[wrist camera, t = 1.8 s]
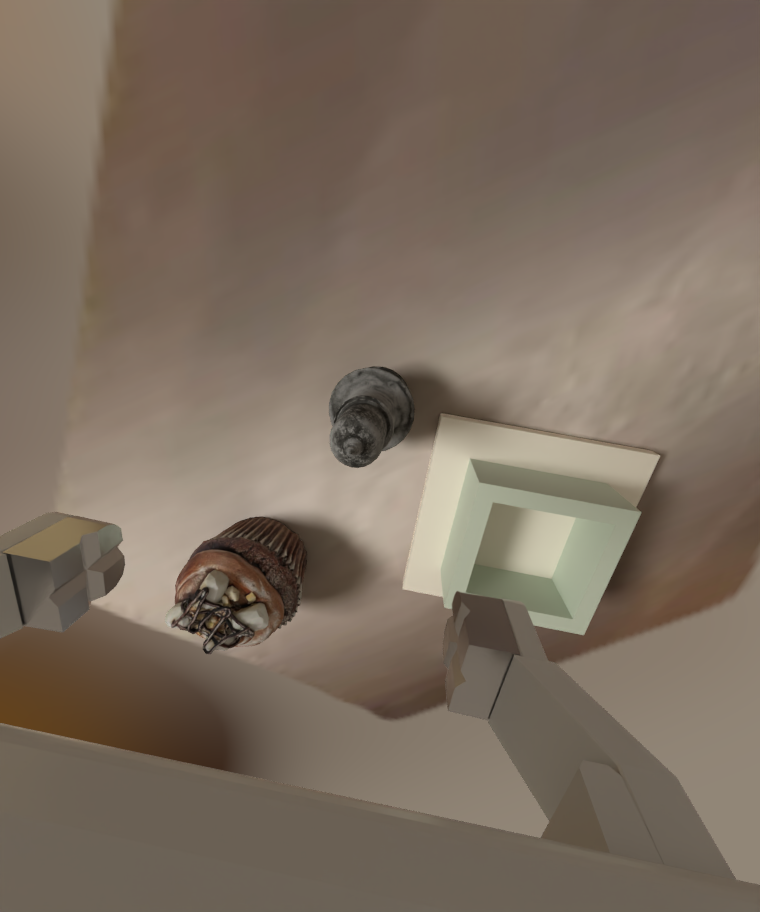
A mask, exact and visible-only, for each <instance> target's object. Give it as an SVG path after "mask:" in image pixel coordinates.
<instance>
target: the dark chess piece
mask: <svg viewBox="0 0 760 912" xmlns="http://www.w3.org/2000/svg"><path fill="white" fill-rule="evenodd" d="M329 416H330V419H331V423H332V426H333V427H332V429H331V433H330V447H331V451H332V452H333V454H334V456H335V457H336V458H337V459H338V460H339V461H340V462H341V463H343V464H344V465H346V466H349V467H356V468H359V467H365V466H367V465H369V464H371V463H372V462H373V461H374V460H376V459H377V458H378V456H379V455H380V453H381V451H386V450H388V449H390V448H392V447H394V446H396V445H397V444H398V443H400V442H401V441H402V440H403V439H404V438H405V437H406V435H407V434H408V432H409V431H410V429H411V426H412V423H413V420H414V403H413V398H412V396H411V394H410V392H409V389H408V387H407V385H406V383H405V381H404V380H403V379H402V378H401V377H400V376H399V375H398V374H397V373H395V372H394V371H392V370H390V369H387V368H384V367H369V368H363V369H358V370H355V371H353V372H351V373H349V374H348V375H346V376H345V377H344V378H343V379H342V380H341V381H339V382H338V384H337V385H336V387H335V389H334V390H333V392H332V395H331V398H330V402H329Z"/></svg>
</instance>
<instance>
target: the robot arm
mask: <svg viewBox="0 0 760 912" xmlns="http://www.w3.org/2000/svg"><path fill="white" fill-rule="evenodd" d="M122 541H123V539H122V533H121V528H120V527H118V526H117V525H115V524H111V523H107V522H102V521H97V520H93V519H88V518H84V517H79V516H73V515H69V514H64V513H59V512H50V513H46V514H44V515H42V516H40V517H37V518H35V519H34V520H31V521H29V522H27V523H25V524H23V525H21V526H19V527H17V528H15V529H13V530H11V531H9V532H7V533H5V534H3V535H1V536H0V638H2V637H4V636H6V635H9V634H11V633H13V632H15V631H17V630H19V629H22V628H23V626H28V627H34V628H40V629H46V630H52V631H58V632H64V631H65V630H66V629H67V628H68V627H69V626H71V625H72V624H73V623H74V622H75V621H76V620H78V619H79V618H80V617H81V616H82V615H83V614H85V613H86V612H87V611H88V610H89V608H90V603H91V601H93V600H95V599H98V598H100V597H103V596H105V595H107V594H108V593H109V592H110V591H111V590H112V589H113V588H114V587H115V586H116V585H117V583H118V582H119V580H120V578H121V577H122V575H123V571H124V566H125V560H124V555H123V554H122V552H121V551H120V550H119V549H118V545H119V544H120V543H121V542H122ZM452 611H453V616H451V617H450V618H449V619H447V623H446V627H445V631H444V638H443V663H444V664H445V666H446V667H447V668H448V673H447V676H446V680H445V686H446V697H447V707H448V711H450V712H455V713H459V714H463V715H467V716H472V717H476V718H480V719H485V720H489V722H488V723H489V725H490V726H491V728H492V730H493V731H494V733H495V734H496V736H497V738H498V739H499V741H500V742H501V744H502V746H503V747H504V749H505V751H506V752H507V754H508V755H509V757H510V759H511V760H512V762H513V764H514V765H515V766H516V768H517V770H518V772H519V773H520V775H521V776H522V778H523V779H524V781H525V783H526V784H527V786H528V788H529V789H530V791H531V792H532V794H533V796H534V797H535V799H536V800H537V802H538V804H539V805H540V807H541V809H542V810H543V812H544V813H545V815H546V817H547V818H548V820H549V824H548V825H547V827H546V829H545V831H544V832H543V834H542V836H541V838H538V837H533V836H528V835H524V834H519V833H514V832H509V831H505V830H500V829H495V828H491V827H486V826H481V825H477V824H472V823H467V822H463V821H458V820H453V819H448V818H444V817H439V816H434V815H429V814H425V813H420V812H415V811H411V810H406V809H401V808H397V807H392V806H388V805H383V804H378V803H373V802H369V801H364V800H359V799H354V798H350V797H345V796H340V795H336V794H331V793H326V792H322V791H317V790H312V789H307V788H303V787H298V786H293V785H288V784H284V783H279V782H274V781H270V780H265V779H260V778H255V777H251V776H246V775H241V774H236V773H232V772H227V771H222V770H217V769H213V768H208V767H203V766H198V765H194V764H189V763H185V762H180V761H175V760H170V759H165V758H161V757H156V756H152V755H147V754H142V753H137V752H133V751H128V750H123V749H119V748H114V747H110V746H104V745H100V744H95V743H91V742H86V741H81V740H77V739H72V738H67V737H62V736H58V735H53V734H48V733H44V732H39V731H35V730H29V729H25V728H20V727H16V726H11V725H6V724H1V723H0V912H760V885H758V884H753V883H748V882H744V881H740V880H736V878H735V876H734V875H733V873H732V871H731V870H730V868H729V866H728V864H727V863H726V861H725V859H724V858H723V856H722V854H721V852H720V851H719V849H718V847H717V846H716V844H715V842H714V840H713V839H712V837H711V835H710V834H709V832H708V830H707V828H706V827H705V825H704V823H703V822H702V820H701V818H700V817H699V815H698V813H697V811H696V810H695V808H694V806H693V804H692V803H691V801H690V799H689V798H688V796H687V794H686V793H685V791H684V789H683V787H682V786H681V784H680V782H679V780H678V779H677V777H676V776H675V775H674V774H673V773H672V772H670V771H669V770H668V769H667V768H666V767H665V766H664V765H663V764H662V763H661V762H660V761H659V760H658V759H657V758H656V757H654V756H653V755H652V754H651V753H650V752H649V751H648V750H647V749H646V748H645V747H644V746H643V745H642V744H641V743H640V742H639V741H637V739H636V738H634V737H633V736H632V735H631V734H630V733H629V732H628V731H627V730H626V729H625V728H624V727H623V726H622V725H620V724H619V722H617V721H616V720H615V719H614V718H613V717H612V716H611V715H610V714H609V713H608V712H607V711H606V710H605V709H604V708H602V706H601V705H599V704H598V703H597V702H596V701H595V700H594V699H593V698H592V697H591V696H590V695H589V694H588V693H587V692H586V691H585V690H583V689H582V688H581V687H580V686H579V685H578V684H577V683H576V682H575V681H574V680H573V679H572V678H571V677H570V676H569V675H567V673H566V672H565V671H563V670H562V669H561V668H560V667H559V666H558V665H557V664H556V663H554V662H549V661H548V659H547V657H546V654H545V652H544V650H543V647H542V645H541V642H540V640H539V637H538V635H537V633H536V630H535V628H534V625H533V623H532V620H531V618H530V616H529V613H528V611H527V608H526V606H525V604H524V603H523V602H521V601H515V600H509V599H503V598H500V599H498V598H493V597H488V596H483V595H477V594H472V593H467V592H461V591H457V592H456V593H455V595H454V598H453V602H452Z"/></svg>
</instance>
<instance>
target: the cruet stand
mask: <svg viewBox="0 0 760 912" xmlns="http://www.w3.org/2000/svg"><path fill="white" fill-rule="evenodd" d="M659 458H660V455H658V454H656V453H654V452H653V451H651V450H646V449H640V448H635V447H629V446H623V445H618V444H612V443H606V442H601V441H595V440H590V439H584V438H578V437H573V436H567V435H562V434H556V433H550V432H545V431H539V430H534V429H528V428H522V427H517V426H511V425H506V424H500V423H494V422H489V421H483V420H478V419H472V418H466V417H461V416H455V415H449V414H444V413H440V417H439V422H438V426H437V431H436V435H435V440H434V444H433V449H432V453H431V458H430V462H429V466H428V471H427V475H426V480H425V484H424V489H423V493H422V498H421V502H420V507H419V511H418V516H417V520H416V525H415V529H414V534H413V538H412V543H411V547H410V551H409V556H408V560H407V565H406V569H405V574H404V578H403V589H404V590H410V591H415V592H420V593H425V594H430V595H435V596H440V597H443V601H444V608H448V609H452V602H453V598H454V595H455V593H456V592H457V591H461V592H467V593H472V594H477V595H483V596H488V597H493V598H498V599H500V598H503V599H509V600H515V601H521V602H523V603H524V604H525V606H526V608H527V611H528V613H529V616H530V618H531V620H532V623H533V625H535V626H540V627H545V628H550V629H555V630H560V631H566V632H571V633H576V634H581V635H584V634H585V631H586V629H587V627H588V625H589V623H590V621H591V619H592V617H593V614H594V612H595V610H596V608H597V606H598V604H599V602H600V600H601V598H602V595H603V593H604V591H605V589H606V587H607V585H608V583H609V581H610V578H611V576H612V574H613V572H614V570H615V568H616V566H617V564H618V561H619V559H620V557H621V555H622V553H623V551H624V549H625V547H626V544H627V542H628V540H629V538H630V536H631V534H632V532H633V530H634V528H635V525H636V523H637V521H638V519H639V517H640V515H641V513H642V512H641V511H639V510H638V509H637V508H636V507H637V505H638V503H639V501H640V499H641V497H642V494H643V492H644V490H645V488H646V486H647V484H648V481H649V479H650V477H651V475H652V473H653V471H654V468H655V466H656V464H657V462H658V460H659Z"/></svg>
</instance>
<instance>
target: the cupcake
mask: <svg viewBox="0 0 760 912" xmlns="http://www.w3.org/2000/svg"><path fill="white" fill-rule="evenodd" d="M306 557H307V552H306V550H305V548H304V544H303V542H302V541H301V540H300V539H299V536H298V534H296V533H294V532H292V531H290V530H289V529H288V528H287V527H286V526H285V525H283V524H282V523H280V522H278V521H276V520H271V519H269V518H264V517H255V518H249V519H246V520H242V521H239V522H237V523H235V524H234V525H232V526H231V527H229V528H228V529H226V530H224V531H223V532H221V533H220V534H219V535H217V536H216V537H214V538H212V539H210V540H207V541H204V542H203V543H202V544H201V545H200V546H199V547H198V548H197V549H196V550H195V551H194V552H193V554H192V555H191V557H190V559H189V560H188V562H187V564H186V565H185V566H184V568H183V569H182V571H181V573H180V574H179V576H178V578H177V582H176V585H175V587H176V595H175V606H173V607H172V608H171V609H170V610H169V611H168V612H167V614H166V618H165V622H166V624H167V626H168V627H171V628H179V629H180V630H186V631H188V632H190V633H192V634H195V633H196V634H197V635H199V636H201V637H202V638H204V639H206V640H205V642H204V644H203V650H204V652H205V653H206V654H211V653H212V652H213V651H214V650H223V651H225V650H228V649H229V648H233V647H234V646H235V647H243V646H254V645H257V644H260V643H262V642H263V641H264V640H266V639H267V638H269V636H270V635H271V634H272V633H273V632H275V631H276V629H277V628H281V625H286V624H287V621H289V622H290V621H291V620H292V617H294V616H295V613H296V612H297V607H298V606H300V603H301V596H302V583H303V579H304V573H305V569H306V564H307V559H306Z"/></svg>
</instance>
